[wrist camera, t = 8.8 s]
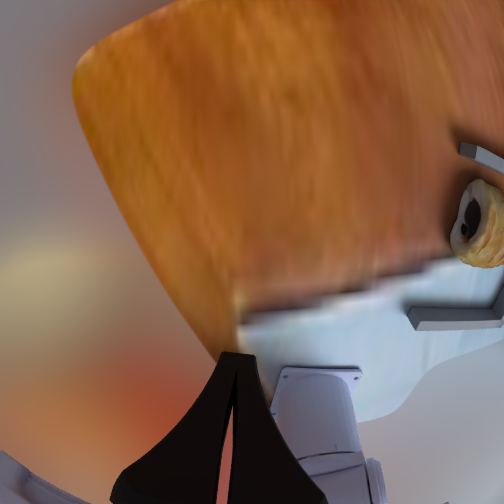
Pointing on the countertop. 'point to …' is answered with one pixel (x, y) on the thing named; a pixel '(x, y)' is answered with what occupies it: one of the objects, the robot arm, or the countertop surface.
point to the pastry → (480, 226)
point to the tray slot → (463, 317)
